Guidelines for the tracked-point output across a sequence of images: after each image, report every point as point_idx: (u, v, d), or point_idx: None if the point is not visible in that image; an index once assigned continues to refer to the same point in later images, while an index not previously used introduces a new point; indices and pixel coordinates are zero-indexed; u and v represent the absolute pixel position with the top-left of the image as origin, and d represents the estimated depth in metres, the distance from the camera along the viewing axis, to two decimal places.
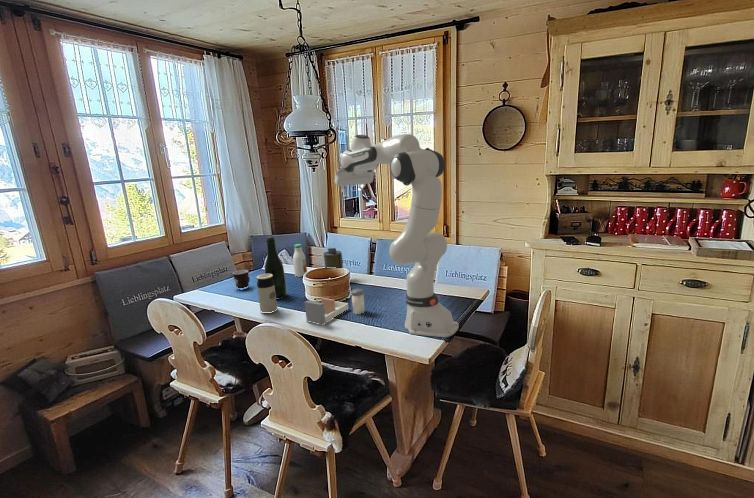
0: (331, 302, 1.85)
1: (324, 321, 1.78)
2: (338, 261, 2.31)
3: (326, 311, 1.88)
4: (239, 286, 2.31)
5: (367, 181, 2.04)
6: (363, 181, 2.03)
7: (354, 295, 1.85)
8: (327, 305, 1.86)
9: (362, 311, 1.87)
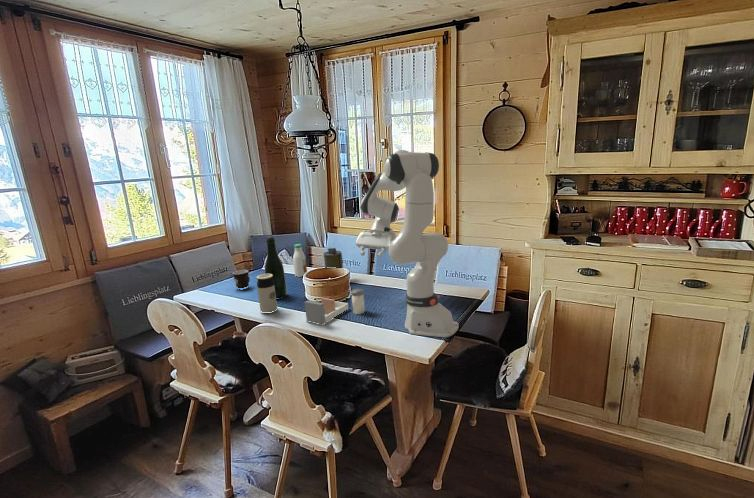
0: (331, 302, 1.85)
1: (324, 321, 1.78)
2: (338, 261, 2.31)
3: (326, 311, 1.88)
4: (239, 286, 2.31)
5: (384, 244, 1.93)
6: (380, 243, 1.94)
7: (354, 295, 1.85)
8: (327, 305, 1.86)
9: (362, 311, 1.87)
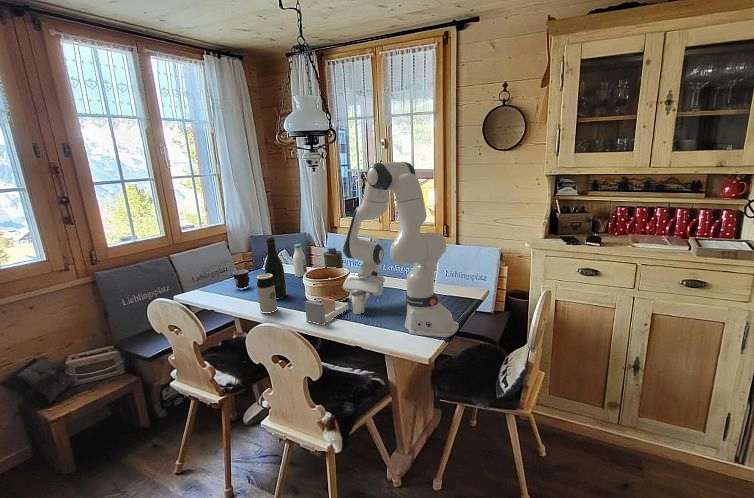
0: (331, 302, 1.85)
1: (324, 321, 1.78)
2: (338, 261, 2.31)
3: (326, 311, 1.88)
4: (239, 286, 2.31)
5: (372, 289, 1.85)
6: (368, 288, 1.87)
7: (354, 295, 1.85)
8: (327, 305, 1.86)
9: (362, 311, 1.87)
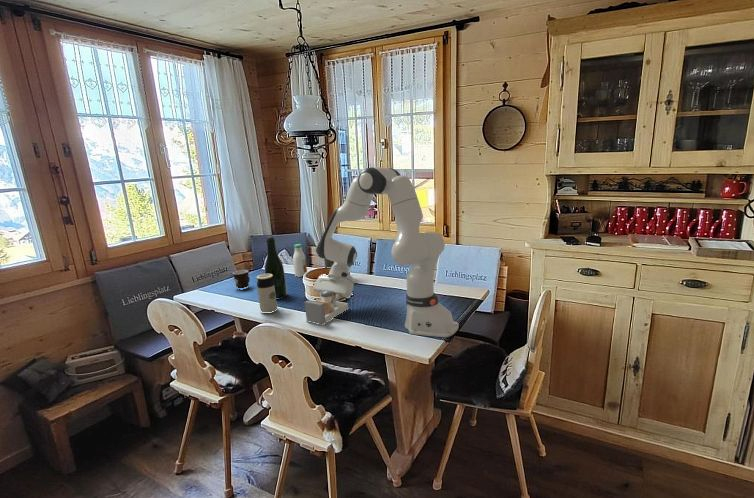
0: (326, 305, 1.82)
1: (324, 321, 1.78)
2: None
3: None
4: (239, 286, 2.31)
5: (341, 290, 1.84)
6: (337, 289, 1.85)
7: (323, 296, 1.83)
8: None
9: None
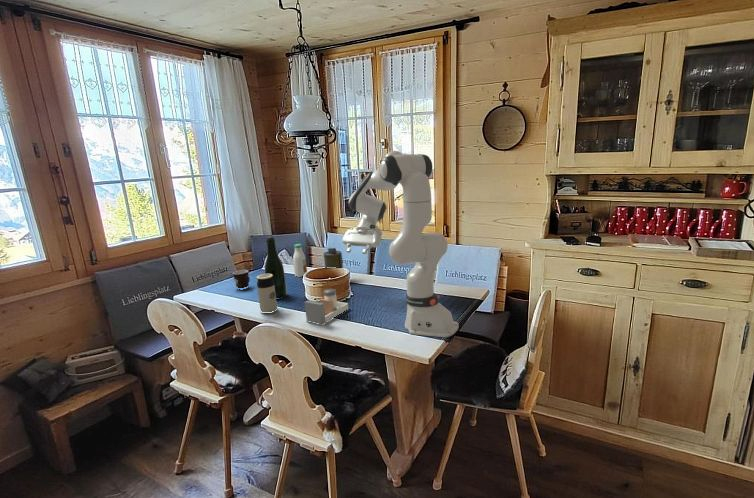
0: (329, 303, 1.84)
1: (324, 321, 1.78)
2: (338, 261, 2.31)
3: None
4: (239, 286, 2.31)
5: (370, 241, 1.94)
6: (366, 240, 1.96)
7: (326, 295, 1.85)
8: (325, 305, 1.85)
9: None
